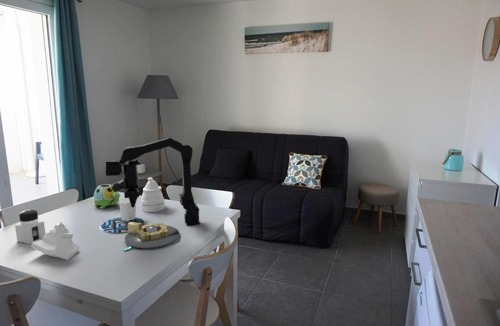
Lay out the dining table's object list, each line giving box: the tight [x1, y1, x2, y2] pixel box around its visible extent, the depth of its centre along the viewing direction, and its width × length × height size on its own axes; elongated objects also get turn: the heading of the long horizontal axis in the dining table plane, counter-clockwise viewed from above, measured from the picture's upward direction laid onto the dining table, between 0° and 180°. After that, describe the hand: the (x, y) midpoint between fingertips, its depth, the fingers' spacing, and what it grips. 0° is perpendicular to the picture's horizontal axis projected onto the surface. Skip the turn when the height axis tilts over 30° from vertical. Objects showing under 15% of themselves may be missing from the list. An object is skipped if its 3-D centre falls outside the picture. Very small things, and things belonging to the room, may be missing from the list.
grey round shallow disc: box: [123, 224, 180, 253], centre depth 145 cm, size 23×23×5 cm
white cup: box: [118, 198, 137, 221], centre depth 167 cm, size 8×8×10 cm
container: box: [14, 209, 46, 245], centre depth 143 cm, size 8×8×13 cm
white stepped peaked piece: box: [30, 222, 80, 261], centre depth 130 cm, size 12×15×14 cm
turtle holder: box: [93, 183, 121, 210], centre depth 188 cm, size 12×18×12 cm
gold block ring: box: [127, 221, 169, 241], centre depth 146 cm, size 19×15×4 cm
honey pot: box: [140, 177, 166, 213], centre depth 184 cm, size 13×13×18 cm
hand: (132, 207), depth 152 cm, fingers closed
